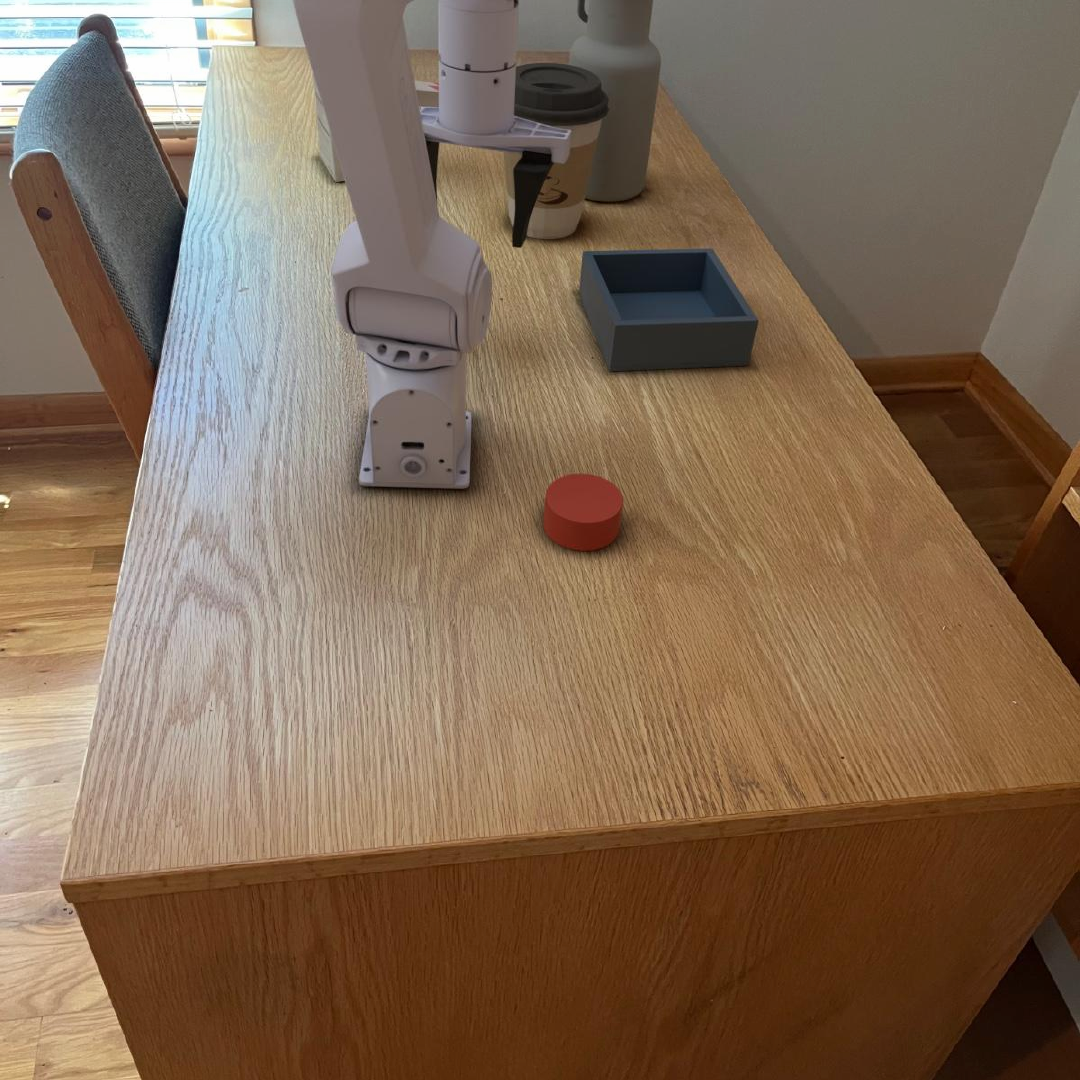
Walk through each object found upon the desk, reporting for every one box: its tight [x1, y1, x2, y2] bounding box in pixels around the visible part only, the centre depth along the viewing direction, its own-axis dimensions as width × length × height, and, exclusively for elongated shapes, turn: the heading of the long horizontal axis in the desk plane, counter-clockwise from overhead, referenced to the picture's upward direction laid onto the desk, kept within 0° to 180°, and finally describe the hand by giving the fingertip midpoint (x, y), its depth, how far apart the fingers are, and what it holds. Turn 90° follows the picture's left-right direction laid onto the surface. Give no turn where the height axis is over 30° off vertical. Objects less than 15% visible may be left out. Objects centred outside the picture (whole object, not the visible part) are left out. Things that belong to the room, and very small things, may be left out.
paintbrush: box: [414, 79, 439, 107], centre depth 132 cm, size 4×3×20 cm
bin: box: [578, 247, 760, 372], centre depth 93 cm, size 14×13×4 cm
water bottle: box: [568, 0, 662, 203], centre depth 108 cm, size 10×10×28 cm
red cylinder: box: [542, 473, 624, 552], centre depth 72 cm, size 5×5×3 cm
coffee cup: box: [503, 62, 609, 240], centre depth 104 cm, size 11×11×15 cm
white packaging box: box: [312, 74, 345, 183], centre depth 113 cm, size 7×7×13 cm
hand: (474, 235), depth 84 cm, fingers open, 7 cm apart
